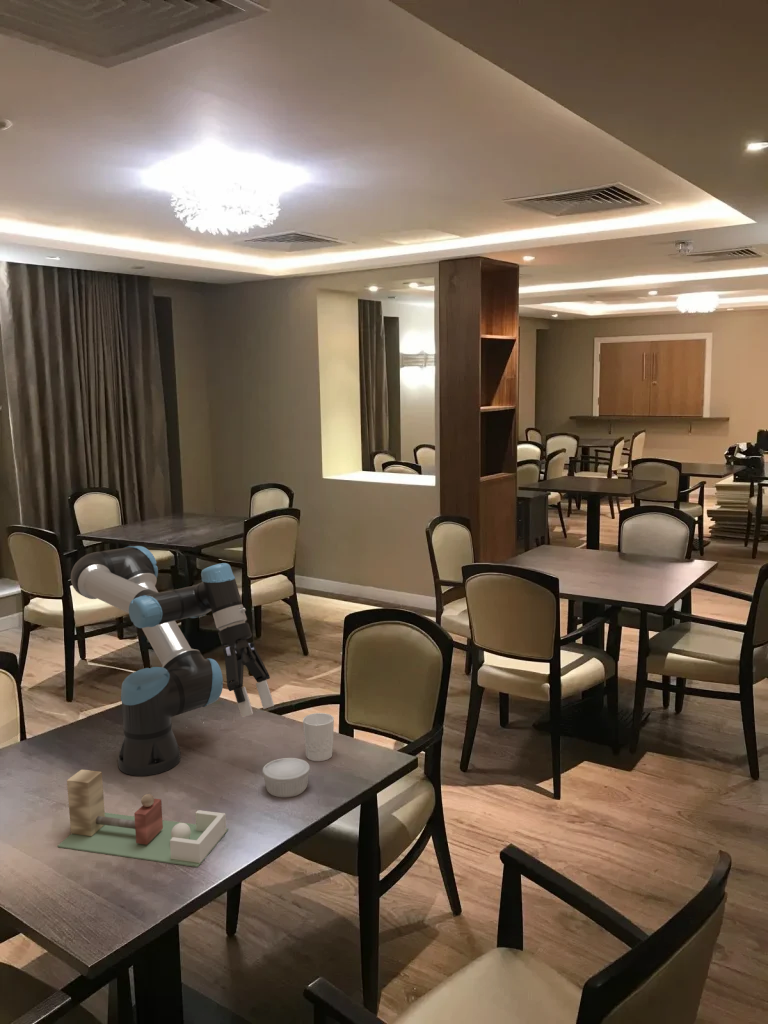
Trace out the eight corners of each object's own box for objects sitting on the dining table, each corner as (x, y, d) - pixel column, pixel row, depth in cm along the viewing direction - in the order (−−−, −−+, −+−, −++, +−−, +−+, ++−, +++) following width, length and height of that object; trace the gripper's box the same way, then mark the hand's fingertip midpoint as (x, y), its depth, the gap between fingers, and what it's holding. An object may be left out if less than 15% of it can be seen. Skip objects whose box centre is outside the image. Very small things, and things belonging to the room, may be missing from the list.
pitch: (57, 847, 165) (57, 845, 165) (97, 812, 178) (97, 811, 178) (197, 867, 157) (197, 865, 157) (228, 829, 171) (228, 828, 171)
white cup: (333, 762, 201) (332, 725, 200) (302, 762, 201) (301, 725, 200) (335, 748, 209) (334, 712, 208) (305, 749, 209) (304, 712, 208)
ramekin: (285, 773, 196) (284, 753, 195) (320, 785, 190) (319, 764, 189) (253, 791, 187) (252, 770, 186) (288, 805, 181) (287, 783, 180)
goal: (170, 858, 160) (169, 840, 159) (198, 827, 171) (197, 810, 171) (200, 863, 158) (199, 844, 158) (226, 831, 170) (225, 813, 169)
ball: (167, 846, 164) (166, 828, 164) (177, 835, 168) (176, 818, 167) (185, 848, 163) (184, 830, 163) (194, 838, 167) (193, 820, 166)
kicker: (68, 835, 168) (64, 781, 167) (87, 819, 175) (83, 768, 173) (147, 846, 164) (144, 791, 162) (163, 829, 170) (160, 776, 168)
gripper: (225, 623, 180) (252, 714, 177) (265, 619, 205) (290, 699, 201) (196, 634, 182) (222, 724, 178) (239, 628, 206) (263, 708, 203)
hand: (258, 711), depth 190 cm, fingers open, 13 cm apart
